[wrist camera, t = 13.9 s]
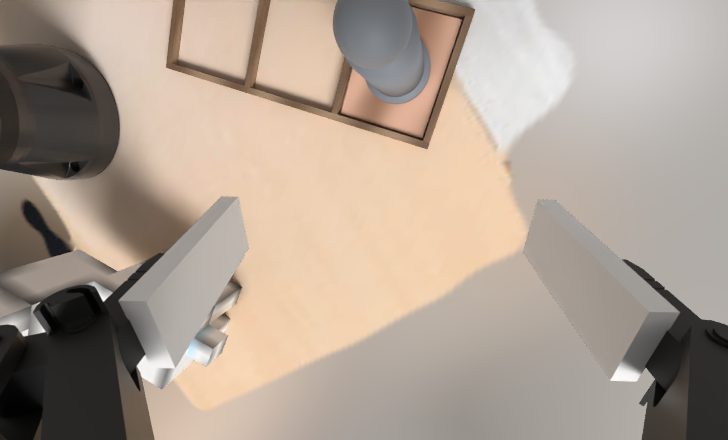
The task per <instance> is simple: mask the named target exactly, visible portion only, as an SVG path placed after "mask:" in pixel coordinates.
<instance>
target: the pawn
mask: <svg viewBox="0 0 728 440" xmlns="http://www.w3.org/2000/svg"><path fill="white" fill-rule="evenodd" d="M333 31H334V36H335V39H336V42H337V45H338V47H339V49H340V50H341V52H342V53H343V54H344V57H345V59H346V60H347V62H348V63H349V65H350V66H351V67H352V68H353V69H354V70H355V71H356V72H358V73H359V74H360V75H361V76H362V77H363V78H364V79H365V81H366V83H367V86H368V88H369V89H370V91H371V92H372V93H373V94H374V95H375V96H376V97H378V98H379V99H380V100H382V101H384V102H386V103H390V104H402V103H406V102H409V101H411V100H413V99H414V98H416V97H417V96H418V95H419V94H420V93H421V92H422V91H423V89H424V88H425V86H426V84H427V82H428V79H429V76H430V70H431V64H430V57H429V53H428V50H427V48H426V46H425V44H424V43H423V42H422V41H421V40H420V35H419V30H418V24H417V20H416V16H415V14H414V11H413V9H412V8H411V6H410V5H409V2H408V0H338V2H337V4H336V7H335V10H334V16H333Z"/></svg>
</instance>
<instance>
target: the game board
mask: <svg viewBox="0 0 728 440" xmlns="http://www.w3.org/2000/svg"><path fill="white" fill-rule="evenodd" d="M408 2H409V5H411V6H415V7H419V8H423V9H427V10H431V11H435V12H439V13H443V14H447V15H451V16H455V17H459V18H463V19H464V21H463V24H462V27H461V30H460V33H459V36H458V39H457V42H456V45H455V48H454V51H453V54H452V57H451V60H450V63H449V66H448V69H447V72H446V75H445V78H444V80H443V83H442V86H441V89H440V92H439V95H438V98H437V101H436V104H435V107H434V110H433V113H432V116H431V119H430V122H429V125H428V128H427V131H426V134H425V137H424V139H423V141H422V140H418V139H415V138H412V137H409V136H405V135H402V134H399V133H396V132H393V131H389V130H386V129H383V128H380V127H376V126H373V125H370V124H367V123H363V122H360V121H357V120H354V119H351V118H347V117H344V116H341V115H339V114H340V111H341V114H345V115H348V116H351V117H354V118H358V119H361V120H364V121H367V122H371V123H374V124H377V125H380V126H384V127H387V128H390V129H393V130H397V131H400V132H403V133H406V134H409V135H413V136H416V137H419V138H423V135H424V132H425V129H426V126H427V123H428V120H429V117H430V114H431V111H432V108H433V105H434V102H435V99H436V96H437V93H438V91H439V88H440V85H441V82H442V79H443V76H444V73H445V70H446V67H447V64H448V61H449V58H450V55H451V52H452V49H453V46H454V43H455V40H456V37H457V34H458V31H459V28H460V25H461V22H462V19H458V18H454V17H450V16H446V15H442V14H438V13H434V12H430V11H426V10H422V9H418V8H414V7H411V8H412V9H413V11H414V14H415V16H416V20H417V24H418V30H419V35H420V40H421V41H422V42H423V43H424V44H425V46H426V48H427V50H428V53H429V57H430V64H431V70H430V76H429V79H428V82H427V84H426V86H425V88H424V89H423V91H422V92H421V93H420V94H419V95H418V96H417V97H416V98H414V99H413V100H411V101H409V102H406V103H402V104H390V103H386V102H384V101H382V100H380V99H379V98H378V97H376V96H375V95H374V94H373V93H372V92H371V91H370V89H369V88H368V86H367V83H366V81H365V79H364V78H363V77H362V76H361V75H360V74H359V73H358V72H356V71H355V70H354V69H352V67H351V66H350V65H349V63H348V62H347V60H346V59H345V61H344V65H343V68H342V72H341V76H340V80H339V84H338V88H337V92H336V96H335V100H334V104H333V108H332V112H328V111H325V110H321V109H318V108H315V107H312V106H308V105H305V104H302V103H299V102H296V101H292V100H289V99H286V98H283V97H279V96H276V95H273V94H270V93H266V92H263V91H260V90H257V89H254V85H255V80H256V75H257V69H258V64H259V58H260V53H261V48H262V42H263V37H264V31H265V26H266V21H267V15H268V10H269V4H270V0H260V1H259V6H258V12H257V18H256V23H255V29H254V35H253V40H252V46H251V52H250V57H249V63H248V68H247V74H246V80H245V85H241V84H237V83H234V82H231V81H228V80H224V79H221V78H218V77H215V76H212V75H208V74H205V73H202V72H199V71H195V70H192V69H189V68H186V67H182V66H179V65H177V64H178V55H179V47H180V39H181V30H182V22H183V14H184V5H185V0H174V1H173V10H172V19H171V28H170V37H169V46H168V55H167V64H166V68H169V69H172V70H175V71H179V72H182V73H185V74H188V75H191V76H195V77H198V78H201V79H204V80H207V81H211V82H214V83H217V84H220V85H223V86H227V87H230V88H233V89H236V90H239V91H243V92H246V93H249V94H252V95H255V96H259V97H262V98H265V99H268V100H271V101H275V102H278V103H281V104H284V105H287V106H291V107H294V108H297V109H300V110H303V111H307V112H310V113H313V114H316V115H319V116H323V117H326V118H329V119H332V120H335V121H339V122H342V123H345V124H348V125H351V126H355V127H358V128H361V129H364V130H367V131H371V132H374V133H377V134H380V135H383V136H387V137H390V138H393V139H396V140H399V141H403V142H406V143H409V144H412V145H415V146H419V147H422V148H425V149H427V148H428V146H429V143H430V140H431V137H432V134H433V131H434V128H435V125H436V122H437V119H438V117H439V114H440V111H441V108H442V105H443V102H444V99H445V96H446V93H447V90H448V88H449V85H450V82H451V79H452V76H453V73H454V70H455V67H456V64H457V61H458V59H459V56H460V53H461V50H462V47H463V44H464V41H465V38H466V35H467V33H468V30H469V27H470V24H471V21H472V18H473V15H474V12H475V9H472V8H468V7H464V6H460V5H455V4H451V3H447V2H443V1H439V0H408ZM351 69H352V72H351ZM350 72H351V76H350ZM349 76H350V80H349ZM348 80H349V84H348ZM347 84H348V88H347ZM346 88H347V91H346ZM345 92H346V95H345ZM344 95H345V99H344ZM343 99H344V103H343ZM342 103H343V107H342ZM341 107H342V110H341Z"/></svg>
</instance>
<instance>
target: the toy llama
mask: <svg viewBox="0 0 728 440" xmlns="http://www.w3.org/2000/svg"><path fill="white" fill-rule="evenodd" d="M144 262H145V261H144ZM144 262H142V263H139V264H136V265H134V266H131V267H129V268H126V269H124V270H121V271H119V272H118V271H116V270H114V269H113V268H111V267H109V266H107V265H106V264H104V263H102V262H100V261H99V260H97V259H95V258H94V257H92V256H90V255H88V254H87V253H85V252H83V251H81V250H76V251H73V252H69V253H66V254H62V255H59V256H55V257H52V258H48V259H45V260H41V261H38V262H35V263H31V264H28V265H24V266H21V267H17V268H14V269H10V270H7V271H3V272H0V325H6V324H9V325H15V326H16V327H17V328H18V329H19V331H20V332H21V333H22V335H23V336H29V335H34V334H38V333H43V332H45V330H44V329H43V327H42V326H41V324H40V323H39V321H38V320H37V318H36V317H35V315H34V314H33V311H34V309H35V307H36V306H37V305H38V304H39V303H40V302H41V301H42V300H44V299H45V298H47V297H49V296H50V295H52V294H54V293H56V292H58V291H60V290H63V289H65V288H69V287H73V286H77V285H91V286H95V288H96V289H97V291H98V293H99V294H100V296H101V298H102V300H103V302H104V301H105V300H106V299H107V298H108V297H109V296H110V295H111V294H112V293H113V292H114V291H115V290H116V289H117V288H118V287H119V286H120V285H121V284H123V283H124V282H125V281H127V280H128V278H129V277H130V276H131V275H132V274H133V273H136V270H137V269H138V268H139V267H140V266H141V265H142V264H143V263H144ZM241 288H242V287H241V286H239V285H237V284H235V283H233V282H232V281H230V280H229V282H228V284H227V285H226V287H225V288H224V290H223V292H222V293H221V295H220V297H219V298H218V300H217V301H216V303H215V305H214V306H213V308H212V310H211V311H210V313H209V315H208V316H207V318H206V319H205V321H204V323H203V324H202V326H201V328H200V329H199V331H198V332H197V334H196V336H195V337H194V339H193V341H192V342H191V344H190V346H189V347H188V349H187V350H186V352H185V354H184V355H183V357H182V359H181V360H180V362H179V363H178V365H177V367H176V368H151V366H150V364H149V362H148V360H147V358H146V356H144V357H143V358H142V360H141V361H140V362H139V364H138V365H137V367H138V369H139V371H140V373H141V377H142V378H144V379H146V380H147V381H149V382H151V383H153V384H154V385H156V386H157V387H159V388H160V389H163V388H164V387H165V386H166V385H167V384H168V383H170V382H171V381H172V380H173V379H174V378H175V377H176V376H178V375H179V374H180V373H181V372H182V371H183V370H184V369H186V368H187V367H188V366H189V365H190V364H191V363H192V362H194V361H197V362H199V363H200V364H202V365H204V366H205V367H207V366H208V365H209V364H210V363H211V362H212V361H213V360H214V359H216V358H217V357H218V356H219V355H220V354H221V353H222V351H223V348H224V345H225V342H226V340H227V337H228V335H226V334H225V332H226V329H227V327H228V324H229V321H230V319H229V318H227V317H226V316H224V315H222V314H223V313H224V312H226V311H227V310H228V309H229V308H231V307H232V306H233V305H235V304H236V302H237V299H238V297H239V294H240V291H241Z"/></svg>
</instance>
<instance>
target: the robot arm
mask: <svg viewBox="0 0 728 440" xmlns="http://www.w3.org/2000/svg"><path fill="white" fill-rule="evenodd" d="M118 138H119V119H118V113H117V108H116V104H115V101H114V98H113V96H112V93H111V91H110V89H109V87H108V85H107V83H106V82H105V80H104V78H103V77H102V76H101V74H100V73H99V72H98V70H97V69H96V68H95V67H94V66H93V65H92V64H91V63H90V62H88V61H87V60H86V59H85V58H83V57H82V56H80V55H78V54H76V53H74V52H71V51H68V50H64V49H60V48H56V47H52V46H48V45H42V44H26V45H4V46H0V169H2V170H7V171H13V172H18V173H23V174H29V175H34V176H40V177H45V178H50V179H56V180H74V179H85V178H90V177H93V176H95V175H97V174H99V173H100V172H102V171H103V170H104V169H105V168H106V167H107V166H108V165H109V163H110V162H111V160H112V158H113V156H114V154H115V151H116V148H117V144H118ZM248 249H249V245H248V241H247V236H246V231H245V227H244V222H243V217H242V212H241V208H240V203H239V198H238V197H220V198H219V199H218V200H217V202H216V203H215V204H214V205H213V206H212V207H211V208H210V209H209V210H208V211H207V212H206V213H205V214H204V215H203V216H202V217H201V218H200V219H199V220H198V221H197V222H196V223H195V224H194V225H193V226H192V227H191V228H190V229H189V230H188V231H187V232H186V233H185V234H184V235H183V236H182V237H181V238H180V239H179V240H178V241H177V242H176V243H175V244H174V245H173V246H172V247H171V248H170V249H169V250H168V251H167V252H166V253H159V254H157V255H156V256H154V257H152V258H150V259H149V260H147V261H145V262H144V263H143V264H142V265H141V266H140V267H139V268H138V269H137V270H136V273H133V274H132V275H131V276H130V277H129V278H128V280H127V281H125V282H124V283H123V284H121V285H120V286H119V287H118V288H117V289H116V290H115V291H114V292H113V293H112V294H111V295H110V296H109V297H108V298H107V299H106V300H105V301H104V302H103V300H102V298H101V296H100V294H99V293H98V291H97V289H96V288H95V286H91V285H77V286H73V287H69V288H65V289H63V290H60V291H58V292H56V293H54V294H52V295H50V296H49V297H47V298H45V299H44V300H42V301H41V302H40V303H39V304H38V305H37V306H36V307H35V309H34V311H33V314H34V315H35V317H36V318H37V320H38V321H39V323H40V324H41V326H42V327H43V329H44V330H45V332H43V333H38V334H34V335H29V336H23V335H22V333H21V332H20V331H19V329H18V328H17V327H16V326H15V325H9V324H6V325H0V440H154V435H153V431H152V426H151V421H150V416H149V411H148V407H147V402H146V398H145V392H144V387H143V383H142V378H141V373H140V371H139V369H138V367H137V365H138V364H139V362H140V361H141V360H142V358H143V357H144V356H146V358H147V360H148V362H149V364H150V366H151V368H176V367H177V365H178V363H179V362H180V360H181V359H182V357H183V355H184V354H185V352H186V350H187V349H188V347H189V346H190V344H191V342H192V341H193V339H194V337H195V336H196V334H197V332H198V331H199V329H200V328H201V326H202V324H203V323H204V321H205V319H206V318H207V316H208V315H209V313H210V311H211V310H212V308H213V306H214V305H215V303H216V301H217V300H218V298H219V297H220V295H221V293H222V292H223V290H224V288H225V287H226V285H227V284H228V282H229V280H230V279H231V277H232V275H233V274H234V272H235V270H236V269H237V267H238V266H239V264H240V262H241V261H242V259H243V257H244V256H245V254H246V253H247V251H248ZM523 254H524V255H525V256H526V258H527V259H528V261H529V262H530V264H531V265H532V267H533V268H534V270H535V271H536V272H537V274H538V276H539V277H540V278H541V280H542V281H543V283H544V284H545V286H546V287H547V289H548V290H549V292H550V293H551V295H552V296H553V297H554V299H555V301H556V302H557V303H558V305H559V306H560V308H561V309H562V311H563V312H564V314H565V315H566V316H567V318H568V320H569V321H570V322H571V324H572V325H573V327H574V328H575V330H576V331H577V333H578V334H579V336H580V337H581V339H582V340H583V342H584V343H585V344H586V346H587V347H588V349H589V350H590V352H591V353H592V355H593V356H594V358H595V359H596V361H597V362H598V364H599V365H600V366H601V368H602V369H603V371H604V372H605V374H606V375H607V376H608V378H609V380H610V381H637V380H638V379H639V377H640V376H641V374H642V372H643V371H644V369H645V368H647V369H648V371H649V372H650V373H651V374H652V375H653V377H654V378H655V380H654V382H653V383H652V385H651V386H650V388H649V389H648V391H647V392H646V394H645V395H644V397H643V398H642V400H641V401H640V403H639V404H641V405H643V406H644V405H645V404H646V402H648V403H647V409H646V415H645V422H644V429H643V435H642V440H728V326H727V325H725V324H722V323H718V322H715V321H712V320H701V319H700V318H699V317H698V316H697V315H695V314H694V313H693V312H692V311H691V310H690V309H689V308H687V307H686V306H685V305H684V304H683V303H682V302H680V301H679V300H678V299H677V298H676V297H675V296H674V295H672V294H671V293H670V292H669V291H668V290H665V289H664V287H663V286H662V285H661V284H660V283H658V282H657V281H655V280H654V278H653V277H652V276H650V275H649V274H648V273H647V272H646V271H645V270H643V269H642V268H640V267H639V266H637V265H635V264H633V263H631V262H629V261H628V260H621V259H620V258H619V257H618V256H617V255H616V254H615V253H614V252H613V251H611V250H610V249H609V248H608V247H607V246H606V245H605V244H604V243H603V242H601V241H600V240H599V239H598V238H597V237H596V236H595V235H593V233H591V232H590V231H589V230H588V229H587V228H586V227H585V226H584V225H583V224H581V223H580V222H579V221H578V220H577V219H576V218H575V217H574V216H573V215H572V214H570V213H569V212H568V211H567V210H566V209H565V208H564V207H563V206H562V205H560V204H559V203H558V202H557V201H556V200H537V203H536V206H535V210H534V214H533V217H532V221H531V224H530V228H529V232H528V235H527V239H526V242H525V246H524V250H523Z"/></svg>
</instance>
